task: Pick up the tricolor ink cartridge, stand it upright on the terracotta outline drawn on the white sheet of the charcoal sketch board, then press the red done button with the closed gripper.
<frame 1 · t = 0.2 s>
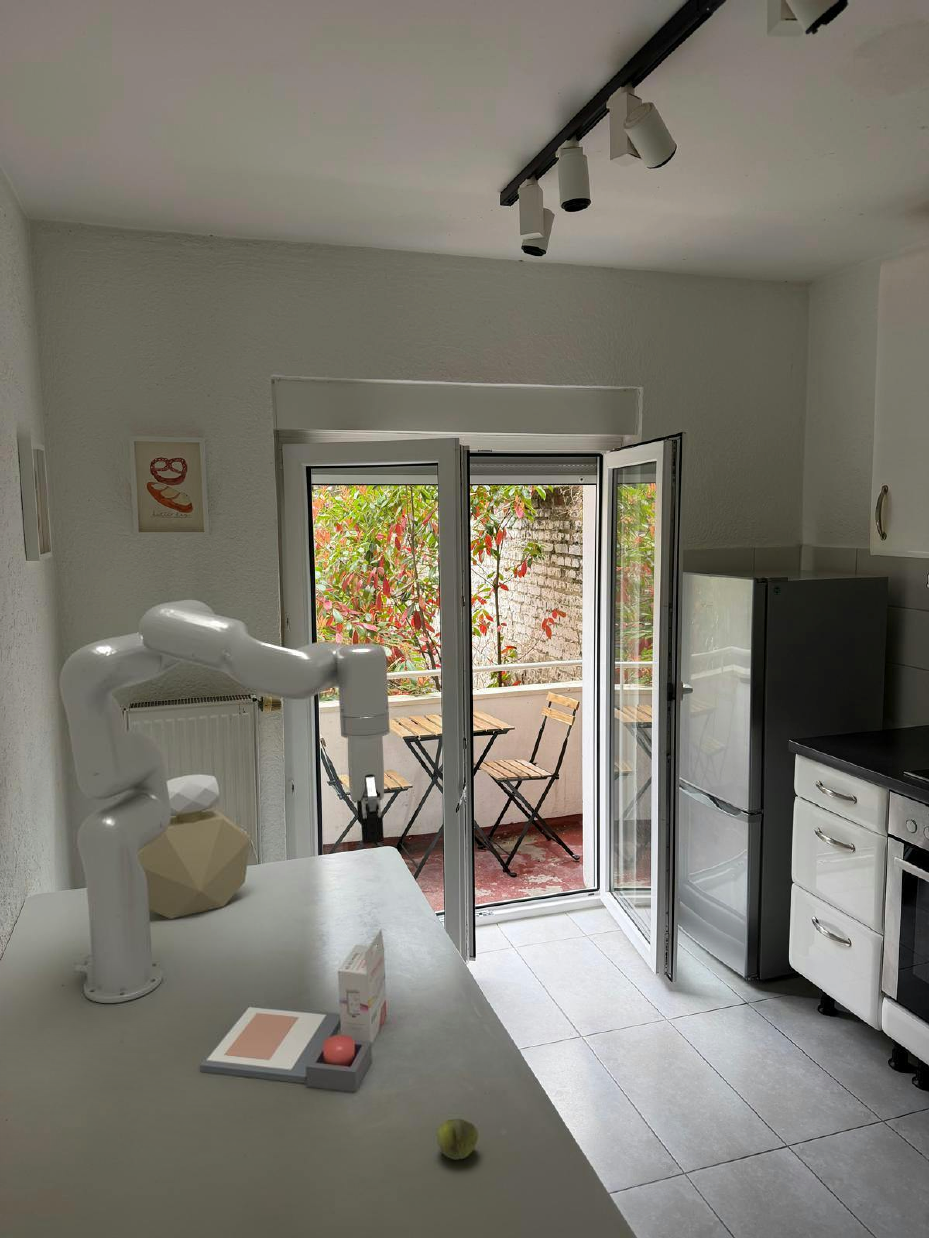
hand: (370, 831, 136), 30 cm above the table, tool pointing down, fingers open, 9 cm apart
button housing: (339, 1073, 124), on the table
lime: (458, 1157, 107), on the table
ink cartridge box: (364, 1030, 135), on the table
done button: (339, 1053, 124), point 3 cm above the table, slide at 0.0 cm
perfume bottle: (194, 908, 179), on the table
sketch board: (275, 1044, 131), on the table
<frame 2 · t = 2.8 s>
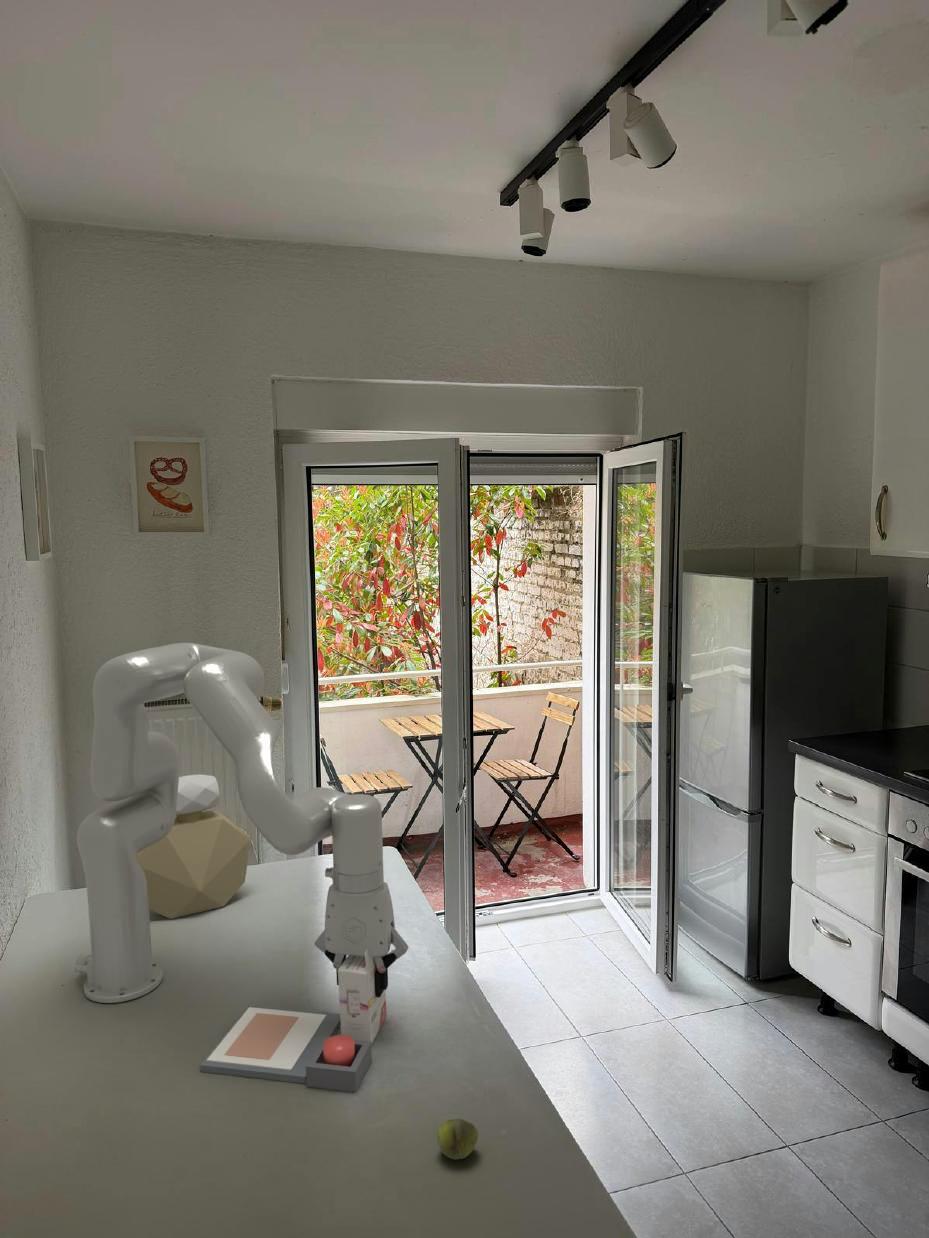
hand: (362, 989, 134), 6 cm above the table, tool pointing down, fingers closed on ink cartridge box, 5 cm apart
ink cartridge box: (364, 1030, 135), on the table, touching gripper
everything else where it was.
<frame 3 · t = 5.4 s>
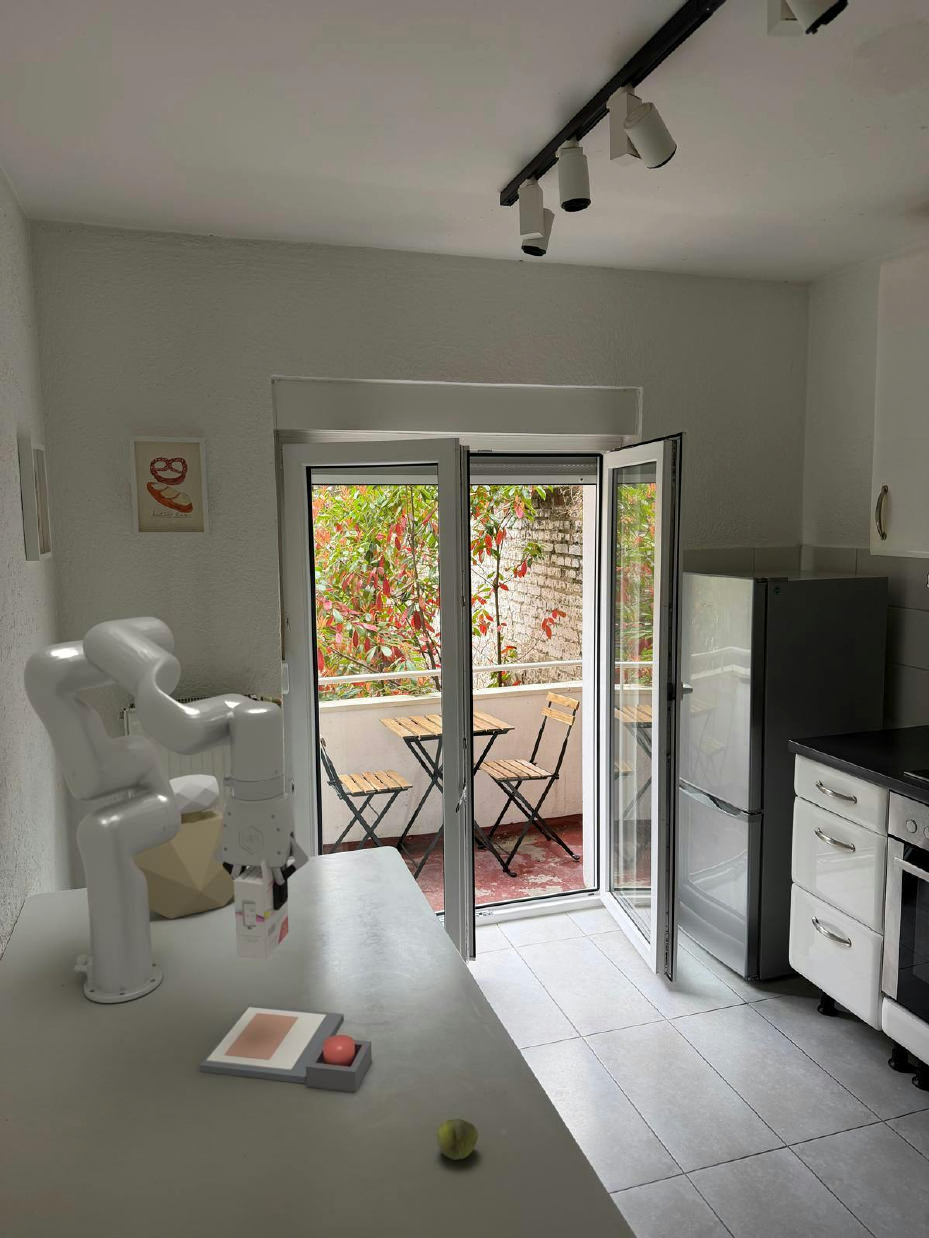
hand: (261, 903, 130), 22 cm above the table, tool pointing down, fingers closed on ink cartridge box, 5 cm apart
ink cartridge box: (262, 945, 131), point 15 cm above the table, touching gripper
everything else where it was.
when the fingers open (9 cm above the table, at t = 8.4 s): ink cartridge box drops 1 cm, resting on sketch board.
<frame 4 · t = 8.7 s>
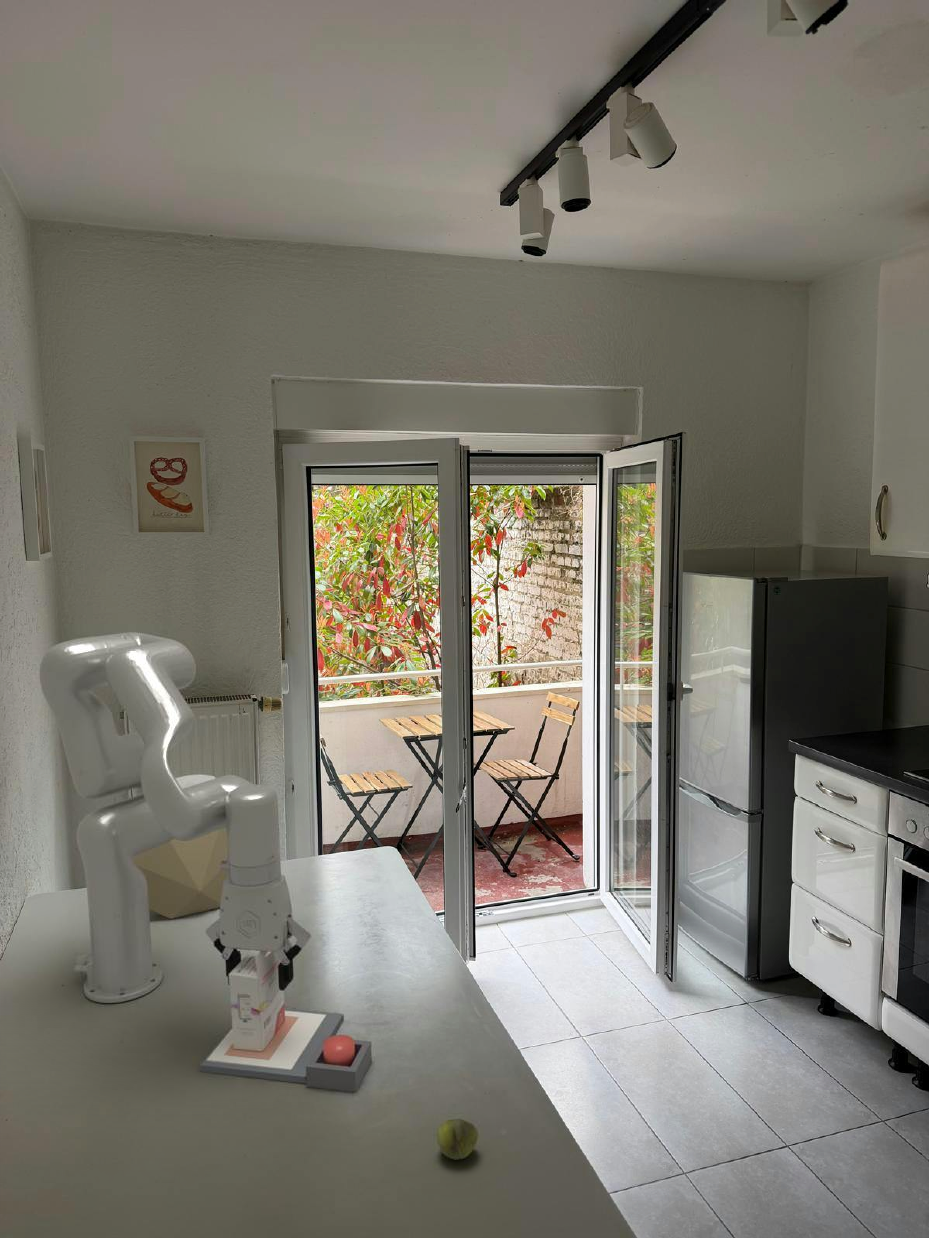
hand: (260, 982, 131), 10 cm above the table, tool pointing down, fingers open, 7 cm apart
ink cartridge box: (259, 1035, 132), point 1 cm above the table, touching sketch board
everything else where it was.
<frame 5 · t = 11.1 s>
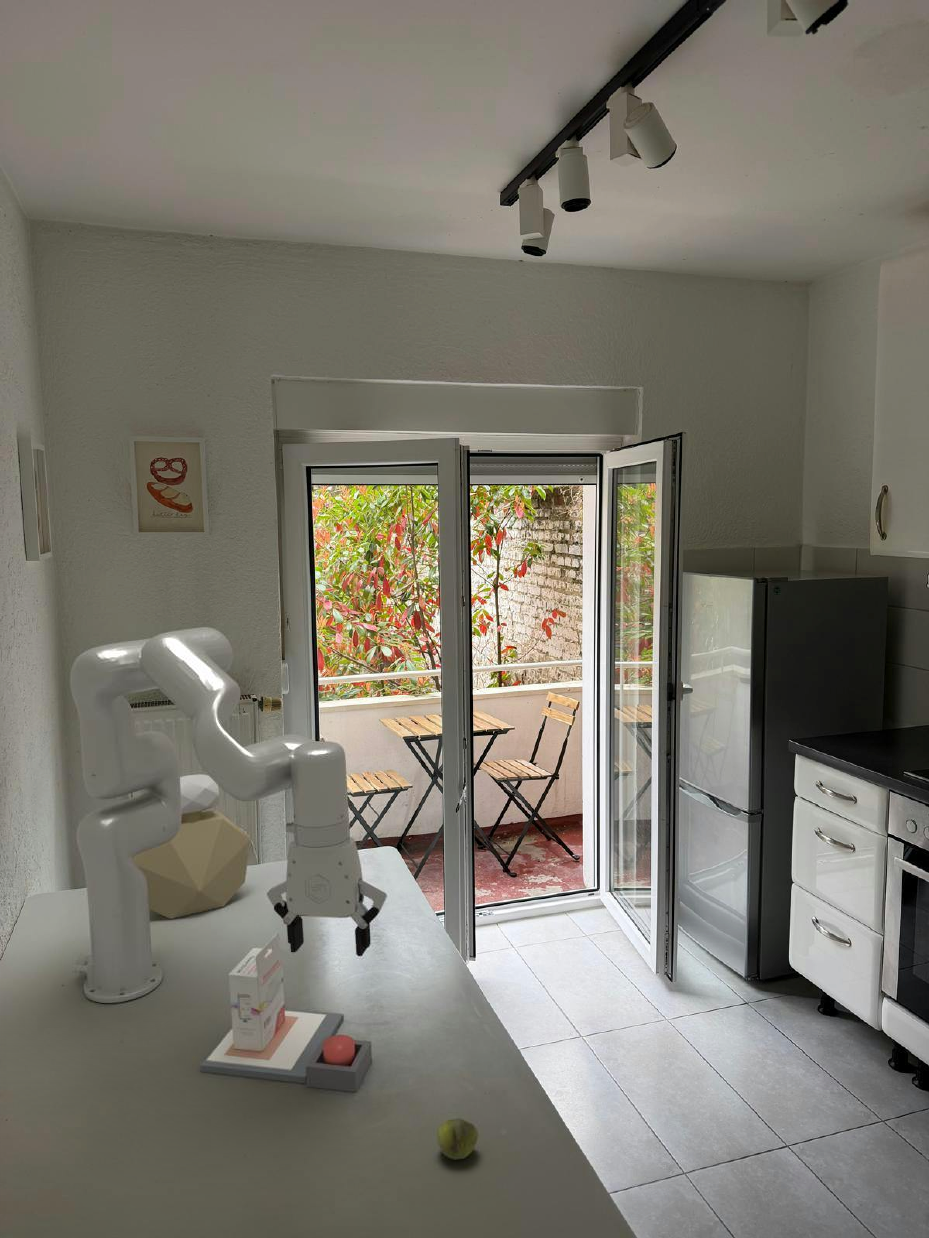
hand: (329, 949, 123), 18 cm above the table, tool pointing down, fingers open, 9 cm apart
nothing on the table moved.
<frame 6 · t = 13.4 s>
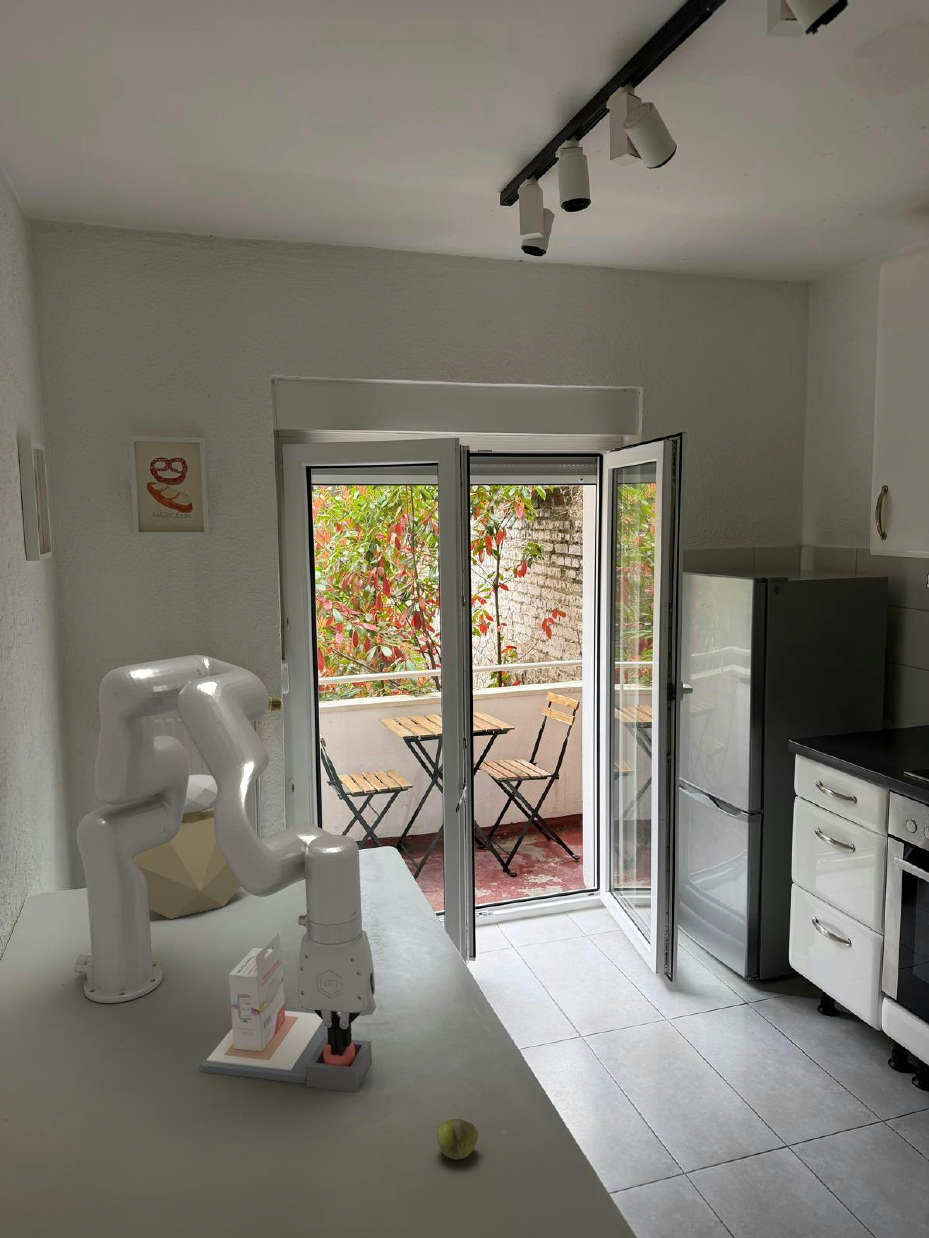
hand: (340, 1049, 124), 4 cm above the table, tool pointing down, fingers closed
done button: (339, 1058, 124), point 2 cm above the table, slide at 0.8 cm, touching gripper
everything else where it was.
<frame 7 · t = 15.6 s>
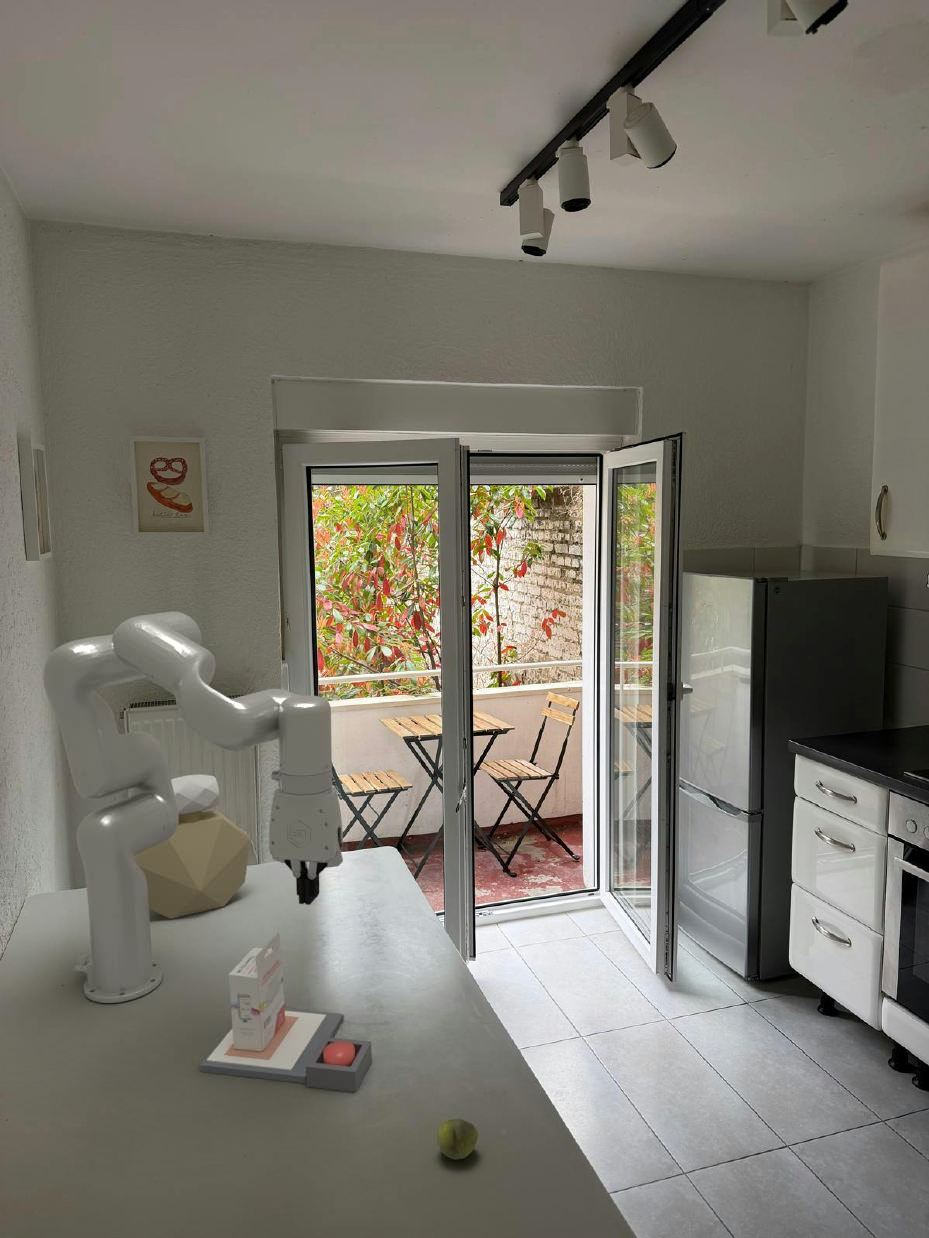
hand: (308, 900, 130), 22 cm above the table, tool pointing down, fingers closed
done button: (339, 1059, 124), point 2 cm above the table, slide at 1.0 cm
everything else where it was.
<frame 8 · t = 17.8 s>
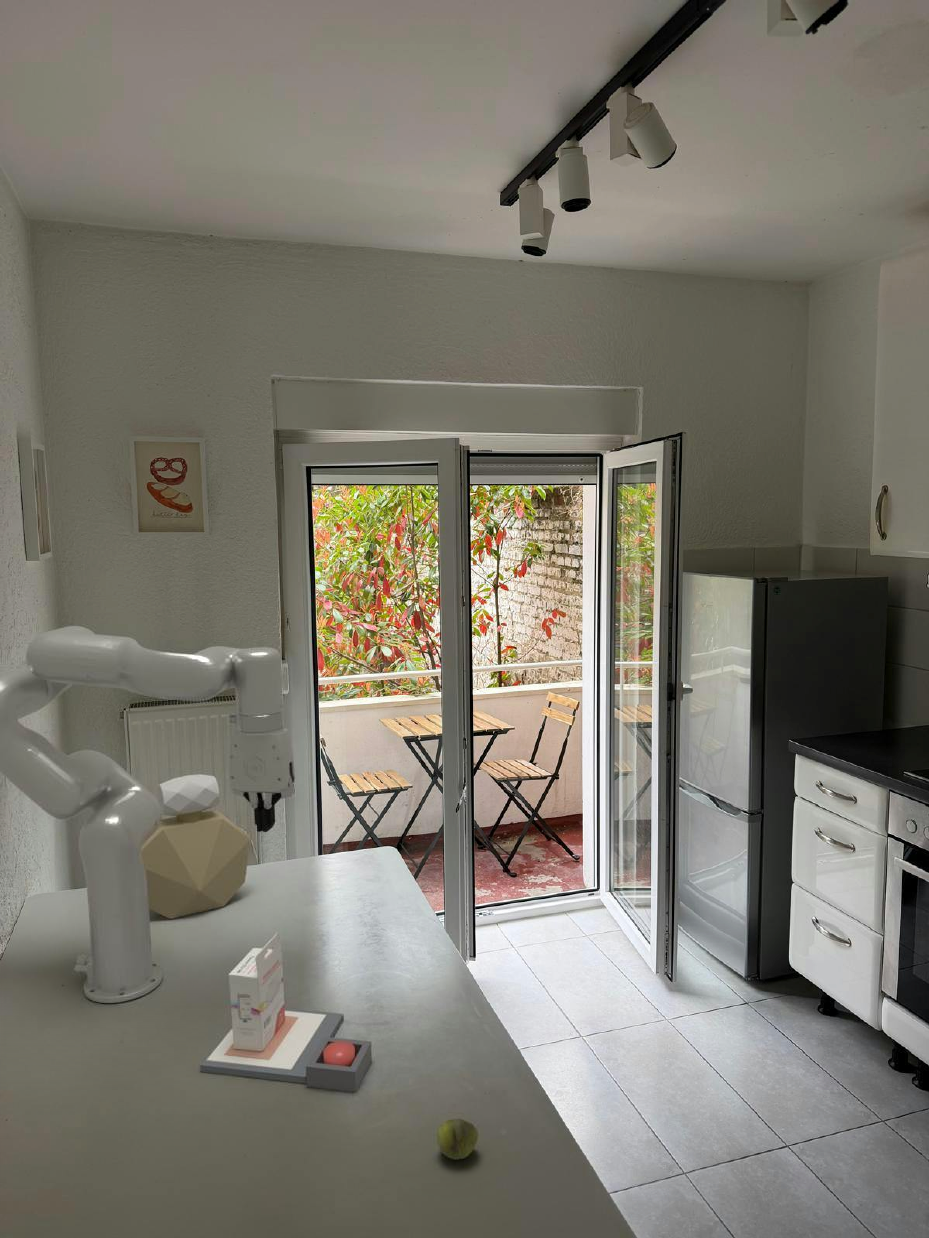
hand: (265, 828, 147), 27 cm above the table, tool pointing down, fingers closed
nothing on the table moved.
at the end: ink cartridge box inside the target area on the sketch board (0.5 cm from its centre), point 1.1 cm above the sketch board's base; ink cartridge box tilted 0°; done button slide at 1.0 cm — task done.
